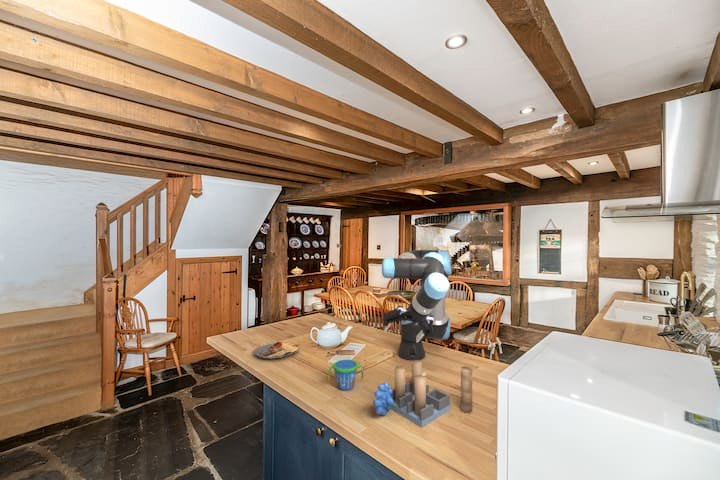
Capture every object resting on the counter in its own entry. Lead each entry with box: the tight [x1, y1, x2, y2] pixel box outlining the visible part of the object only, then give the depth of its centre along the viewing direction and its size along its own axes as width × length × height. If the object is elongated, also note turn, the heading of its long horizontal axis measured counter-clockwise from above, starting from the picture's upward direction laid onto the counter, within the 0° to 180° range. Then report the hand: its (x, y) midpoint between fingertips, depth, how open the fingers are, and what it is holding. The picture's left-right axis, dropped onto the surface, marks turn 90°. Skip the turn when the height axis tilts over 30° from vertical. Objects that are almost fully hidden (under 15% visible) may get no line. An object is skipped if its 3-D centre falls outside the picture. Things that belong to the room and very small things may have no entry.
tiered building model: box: [422, 371, 428, 384], centre depth 133 cm, size 10×9×6 cm
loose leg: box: [460, 366, 473, 414], centre depth 114 cm, size 4×4×16 cm
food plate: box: [253, 341, 299, 360], centre depth 173 cm, size 25×23×4 cm
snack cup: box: [327, 359, 364, 391], centre depth 133 cm, size 16×11×10 cm
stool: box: [390, 360, 452, 428], centre depth 116 cm, size 17×17×15 cm
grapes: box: [373, 382, 394, 417], centre depth 111 cm, size 12×7×12 cm, turn 145°
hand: (401, 334), depth 122 cm, fingers open, 13 cm apart
